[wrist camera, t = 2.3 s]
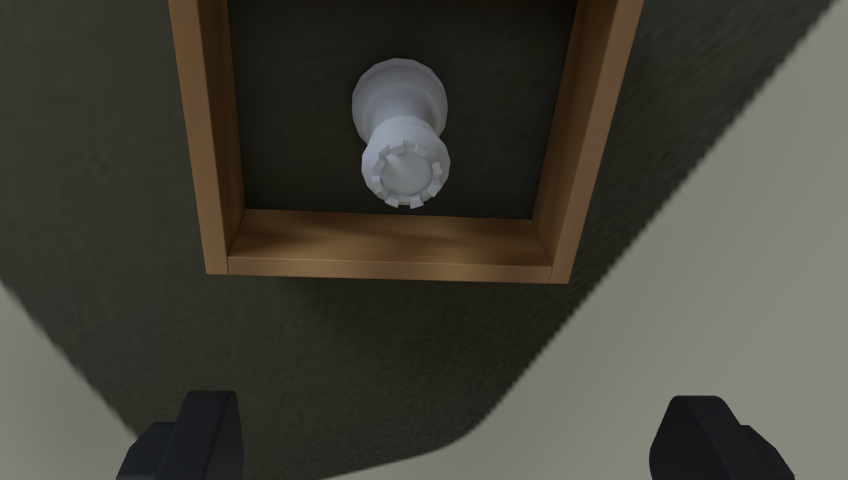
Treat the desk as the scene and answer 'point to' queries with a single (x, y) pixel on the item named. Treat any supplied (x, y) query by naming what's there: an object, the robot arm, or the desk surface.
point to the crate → (390, 233)
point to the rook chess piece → (402, 131)
